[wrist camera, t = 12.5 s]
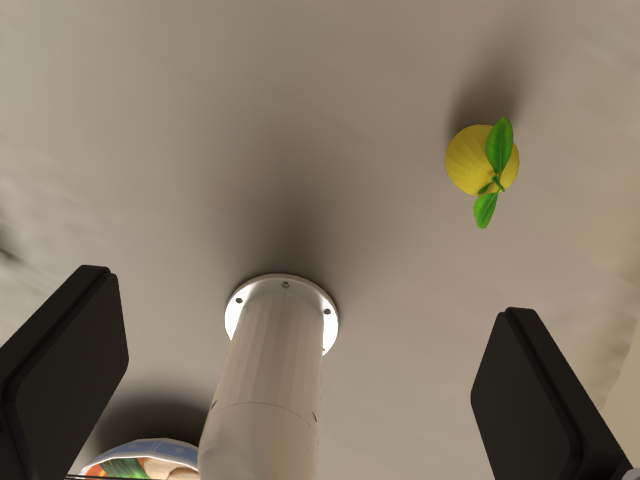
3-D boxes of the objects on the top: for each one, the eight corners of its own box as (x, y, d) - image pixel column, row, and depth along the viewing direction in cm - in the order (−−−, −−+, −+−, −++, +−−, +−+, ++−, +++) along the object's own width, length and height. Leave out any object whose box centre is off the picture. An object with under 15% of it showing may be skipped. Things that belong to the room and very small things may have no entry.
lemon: (459, 193, 42) (489, 248, 34) (419, 150, 41) (439, 197, 32) (521, 144, 40) (571, 190, 31) (481, 96, 38) (522, 130, 29)
